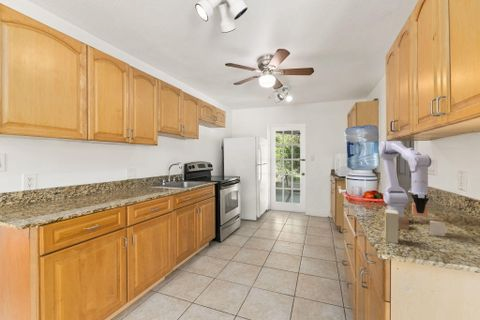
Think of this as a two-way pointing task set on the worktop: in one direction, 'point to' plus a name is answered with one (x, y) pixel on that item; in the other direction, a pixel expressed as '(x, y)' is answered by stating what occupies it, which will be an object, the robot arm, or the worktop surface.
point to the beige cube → (437, 228)
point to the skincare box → (391, 226)
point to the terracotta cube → (419, 213)
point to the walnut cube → (403, 223)
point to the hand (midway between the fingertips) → (419, 211)
